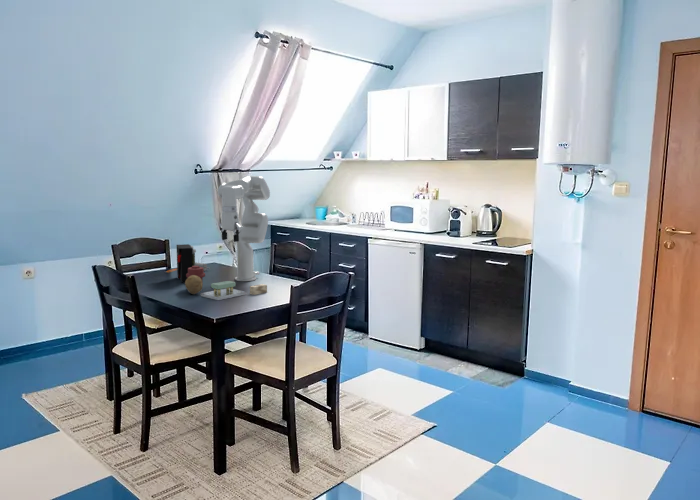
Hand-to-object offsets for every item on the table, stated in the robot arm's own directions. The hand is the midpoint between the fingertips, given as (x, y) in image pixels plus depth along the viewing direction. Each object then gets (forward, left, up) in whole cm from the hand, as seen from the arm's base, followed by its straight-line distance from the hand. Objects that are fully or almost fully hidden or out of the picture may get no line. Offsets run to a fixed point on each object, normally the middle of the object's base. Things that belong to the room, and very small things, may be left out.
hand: (230, 240), depth 298 cm
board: (+14, +11, -22) cm, 29 cm away
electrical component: (+2, -39, -27) cm, 47 cm away
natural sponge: (+22, -3, -27) cm, 35 cm away
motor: (-14, -61, -27) cm, 68 cm away
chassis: (+14, +11, -27) cm, 32 cm away
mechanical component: (+13, -14, -27) cm, 33 cm away
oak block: (-2, +20, -27) cm, 33 cm away
